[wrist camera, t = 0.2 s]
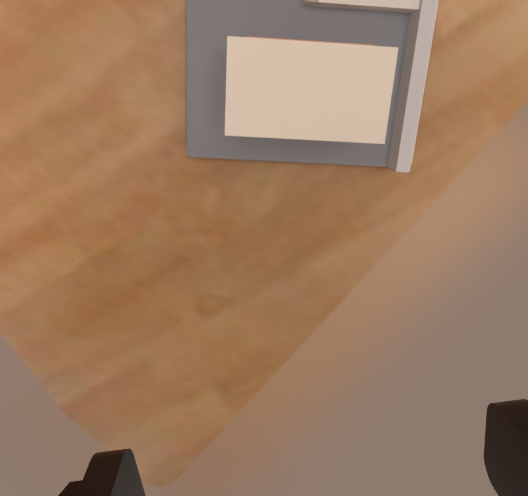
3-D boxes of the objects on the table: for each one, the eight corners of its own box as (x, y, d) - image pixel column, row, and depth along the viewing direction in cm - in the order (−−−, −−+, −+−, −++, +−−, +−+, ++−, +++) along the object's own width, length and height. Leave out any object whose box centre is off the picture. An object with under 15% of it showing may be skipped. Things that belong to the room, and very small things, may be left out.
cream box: (228, 123, 32) (224, 135, 25) (231, 45, 31) (227, 32, 23) (352, 130, 33) (384, 143, 25) (361, 54, 31) (398, 44, 24)
